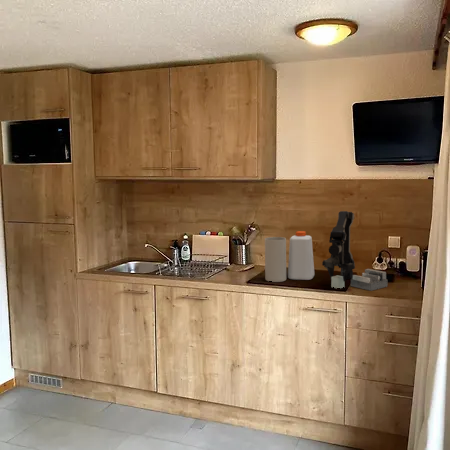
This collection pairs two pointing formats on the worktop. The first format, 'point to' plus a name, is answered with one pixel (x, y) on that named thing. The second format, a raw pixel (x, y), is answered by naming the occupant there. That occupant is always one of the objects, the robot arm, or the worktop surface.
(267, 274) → the cylinder vase
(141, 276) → the worktop surface
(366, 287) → the base
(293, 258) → the plastic bottle
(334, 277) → the block
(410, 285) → the worktop surface
